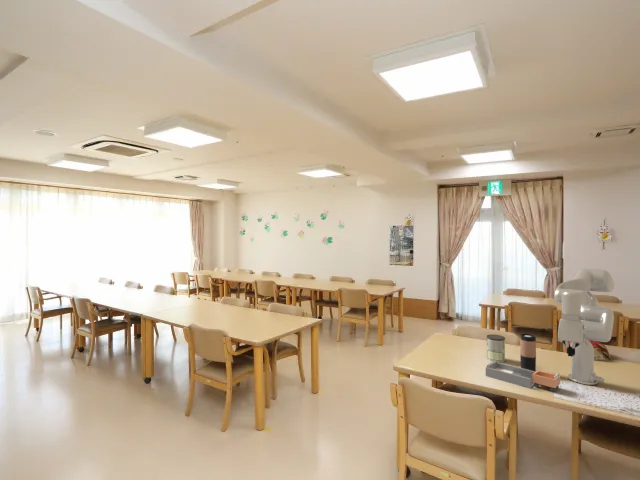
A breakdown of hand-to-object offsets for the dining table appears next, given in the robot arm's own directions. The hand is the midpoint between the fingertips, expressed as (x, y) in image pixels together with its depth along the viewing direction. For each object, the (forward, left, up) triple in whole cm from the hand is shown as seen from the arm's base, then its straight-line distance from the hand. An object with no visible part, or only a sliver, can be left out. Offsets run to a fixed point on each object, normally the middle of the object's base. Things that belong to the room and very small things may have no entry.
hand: (570, 355), depth 169 cm
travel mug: (+25, -19, -19) cm, 36 cm away
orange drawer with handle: (+11, 0, -19) cm, 22 cm away
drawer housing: (+27, 0, -19) cm, 33 cm away
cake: (+7, -77, -19) cm, 80 cm away
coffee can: (+45, -25, -19) cm, 54 cm away
